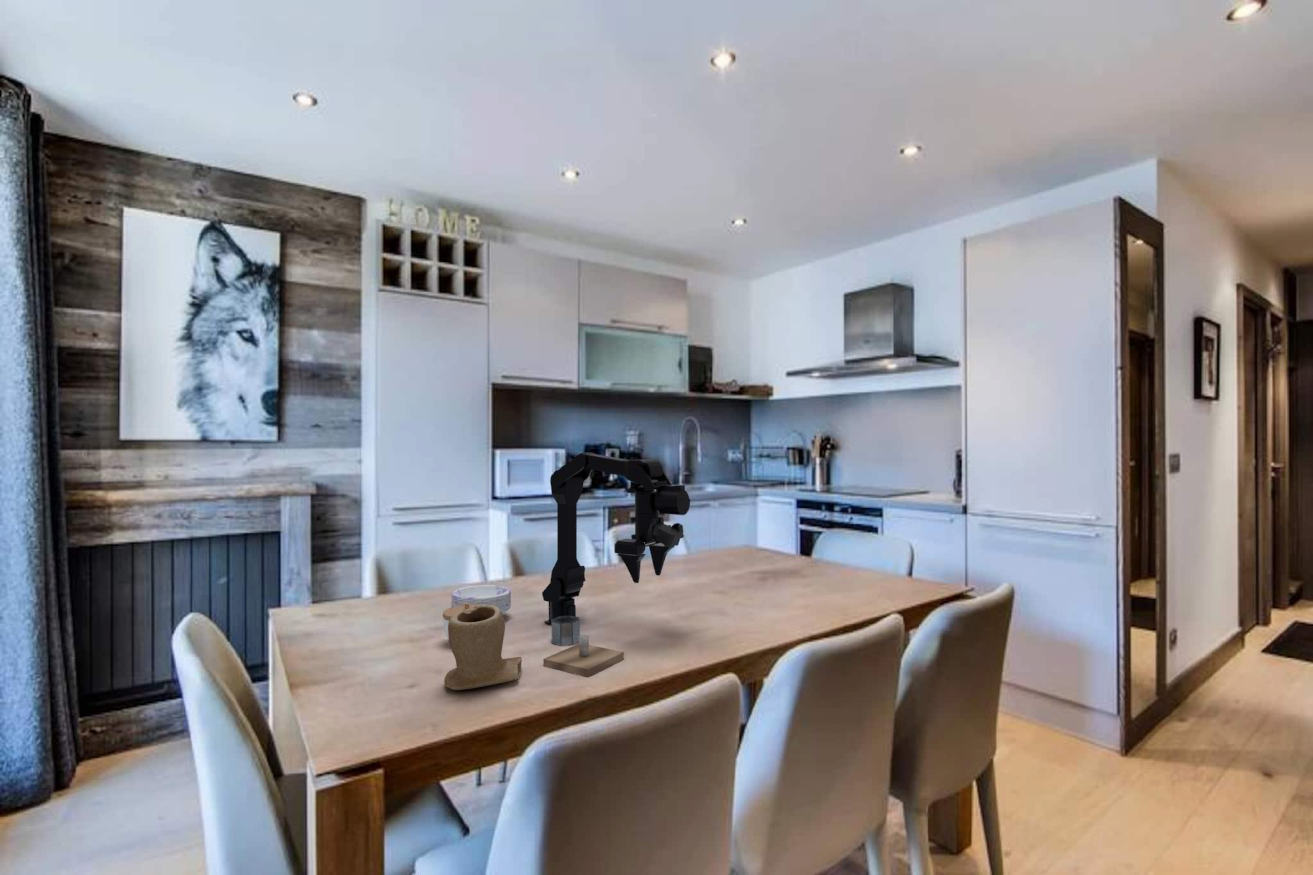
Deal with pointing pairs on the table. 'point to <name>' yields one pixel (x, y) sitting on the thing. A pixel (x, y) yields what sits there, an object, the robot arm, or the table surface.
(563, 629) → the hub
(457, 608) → the lidded jar
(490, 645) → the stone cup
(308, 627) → the table surface
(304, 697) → the table surface
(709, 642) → the table surface
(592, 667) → the block
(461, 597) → the paper bowls
